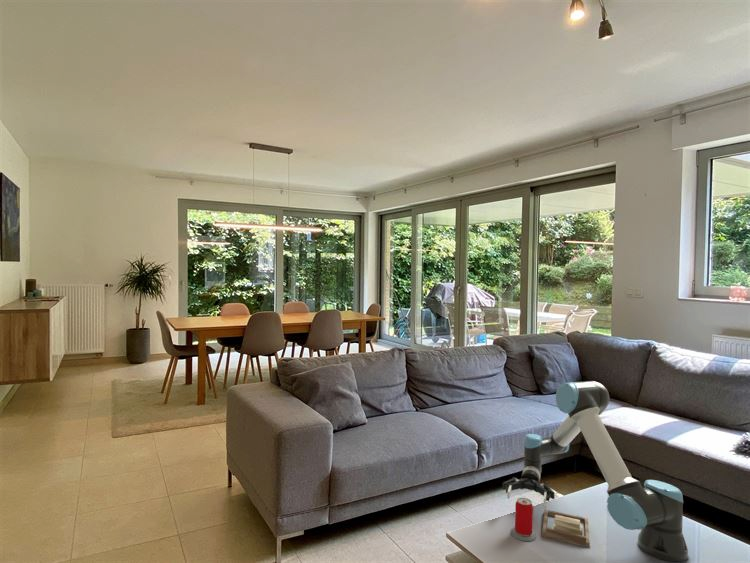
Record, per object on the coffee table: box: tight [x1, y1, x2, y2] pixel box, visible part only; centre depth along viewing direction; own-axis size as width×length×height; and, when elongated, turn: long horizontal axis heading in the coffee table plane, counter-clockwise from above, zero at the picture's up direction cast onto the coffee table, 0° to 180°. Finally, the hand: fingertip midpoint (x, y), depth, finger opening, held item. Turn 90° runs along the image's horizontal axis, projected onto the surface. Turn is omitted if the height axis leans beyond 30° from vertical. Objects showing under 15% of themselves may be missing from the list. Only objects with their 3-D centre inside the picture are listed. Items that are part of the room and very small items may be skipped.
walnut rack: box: [541, 509, 591, 548], centre depth 174 cm, size 19×16×3 cm
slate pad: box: [510, 526, 537, 543], centre depth 170 cm, size 9×9×1 cm
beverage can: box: [514, 497, 534, 536], centre depth 170 cm, size 6×6×12 cm
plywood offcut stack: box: [553, 515, 584, 536], centre depth 170 cm, size 4×10×6 cm, turn 64°
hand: (526, 498), depth 178 cm, fingers open, 13 cm apart
